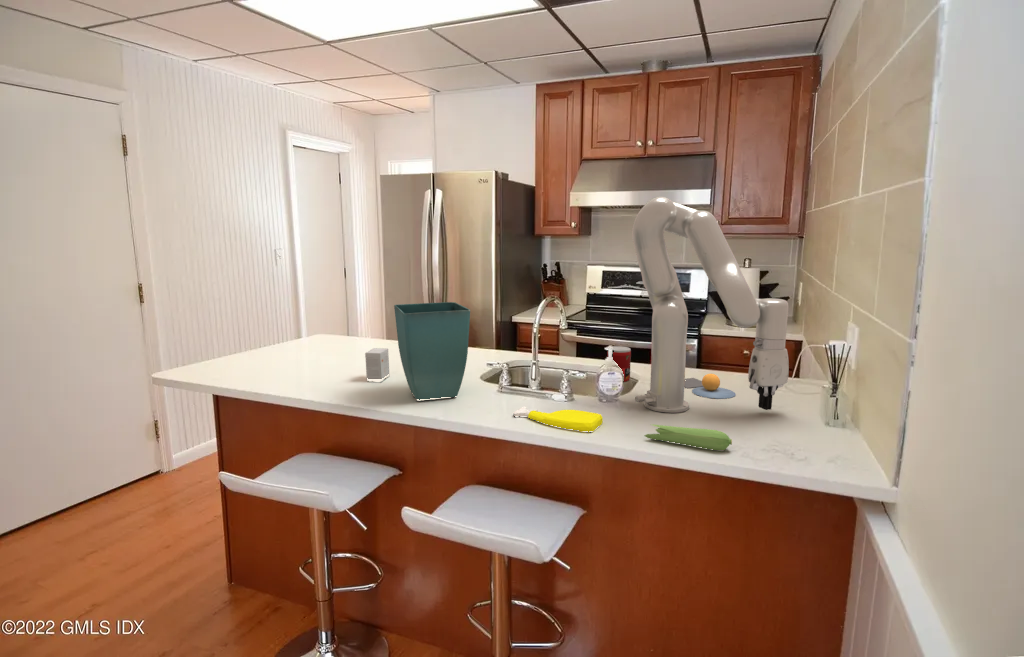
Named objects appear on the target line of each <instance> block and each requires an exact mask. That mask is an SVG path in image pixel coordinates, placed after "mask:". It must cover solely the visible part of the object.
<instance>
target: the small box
mask: <svg viewBox="0 0 1024 657" xmlns="http://www.w3.org/2000/svg"><path fill="white" fill-rule="evenodd" d="M364 355H365V356H364V358H365V372H366V373H365V374H366V379H367V378H368V379H382V378H384V377H385V376H387V375H388V374H389V375H390V359H389V358H390V357H389V355H390V354H389V348H383V347H382V348H381V347H379V348H378V347H373V348H372V349H370V350H368V351H366V352H365V353H364Z"/></svg>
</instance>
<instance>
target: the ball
mask: <svg viewBox="0 0 1024 657" xmlns="http://www.w3.org/2000/svg"><path fill="white" fill-rule="evenodd" d="M701 381H702V385H703V387H704V388H705V389H707V390H709V391H714V390H716V389H717V388H718V387H719V388H720V385H721V380H720V377H719V376H718V375H717V374H714V373H706V374H705V375H703V377H702V380H701Z"/></svg>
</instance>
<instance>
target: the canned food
mask: <svg viewBox="0 0 1024 657" xmlns="http://www.w3.org/2000/svg"><path fill="white" fill-rule="evenodd" d="M612 347H613V348H614V349H615V350H614V352H613V360H614V361H615V362H616V363H617V364H618V366H619V367H620V368H621V369H622V371H623V374H624V382H623V383H625V382H628V381H630V378H631V362H632V361H631V357H632V350H631V348H630V347H628V346H621V345H620V346H618V345H614V346H612ZM607 357H608V351H607V352H606V358H607Z"/></svg>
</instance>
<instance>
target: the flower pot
mask: <svg viewBox="0 0 1024 657" xmlns="http://www.w3.org/2000/svg"><path fill="white" fill-rule="evenodd" d="M393 307H394V315H395V316H394V318H395V325H396V334H397V344H398V350H399V356H400V361H401V365H402V369H403V372H404V376H405V379H406V382H407V386H408V388H409V391H410V390H411V391H410V392H411V393H413V394H412V395H414V396H415V397H414V396H413V397H414V398H416V399H419V400H420V399H430V398H441V397H455V396H457V397H458V394H459V391H460V389H461V386H462V383H463V379H464V375H465V371H466V367H467V361H468V352H469V336H470V323H471V322H470V321H471V319H470V318H471V309H470V308H468V307H466V306H464V305H462V304H459V303H458V302H453V301H449V302H448V301H445V302H423V303H422V302H421V303H405V304H404V303H402V304H394V305H393ZM416 399H415V400H416Z"/></svg>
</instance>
